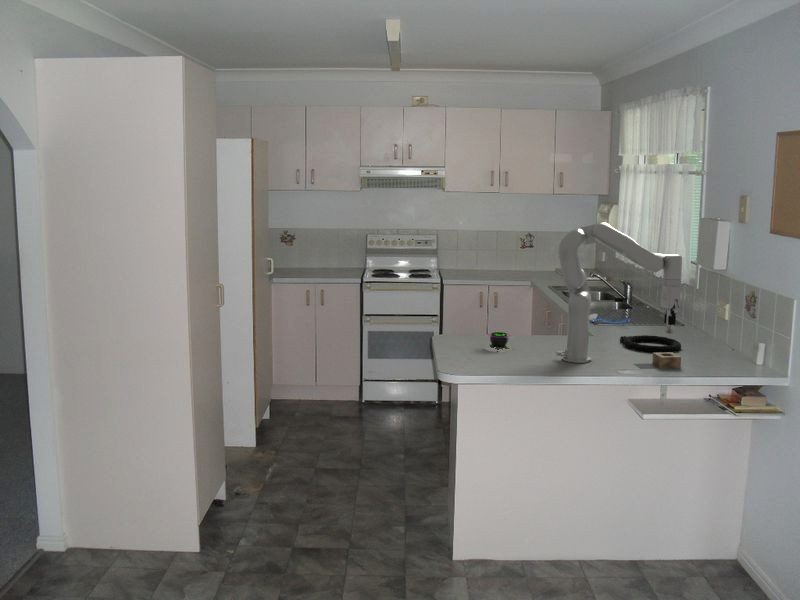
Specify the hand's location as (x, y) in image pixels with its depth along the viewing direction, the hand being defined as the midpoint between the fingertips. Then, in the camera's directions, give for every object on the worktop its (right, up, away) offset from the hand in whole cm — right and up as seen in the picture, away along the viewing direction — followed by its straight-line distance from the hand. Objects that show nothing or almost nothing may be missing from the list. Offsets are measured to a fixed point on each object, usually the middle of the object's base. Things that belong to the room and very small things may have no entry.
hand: (669, 323), depth 346 cm
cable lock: (+5, -13, +44) cm, 46 cm away
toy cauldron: (-71, -14, +37) cm, 81 cm away
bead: (-1, -19, +3) cm, 19 cm away
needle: (0, -4, +1) cm, 4 cm away
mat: (-4, -19, +3) cm, 20 cm away
